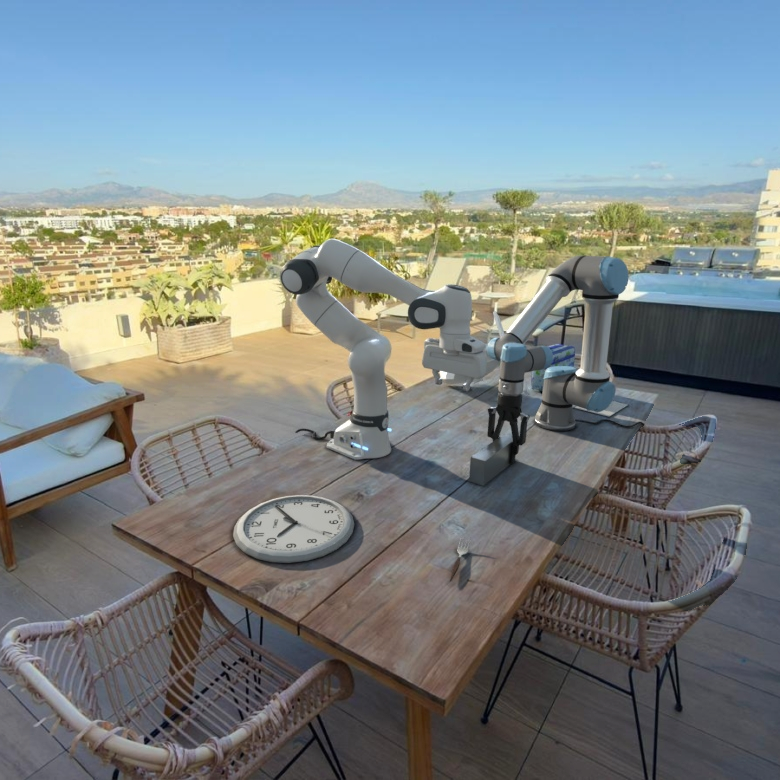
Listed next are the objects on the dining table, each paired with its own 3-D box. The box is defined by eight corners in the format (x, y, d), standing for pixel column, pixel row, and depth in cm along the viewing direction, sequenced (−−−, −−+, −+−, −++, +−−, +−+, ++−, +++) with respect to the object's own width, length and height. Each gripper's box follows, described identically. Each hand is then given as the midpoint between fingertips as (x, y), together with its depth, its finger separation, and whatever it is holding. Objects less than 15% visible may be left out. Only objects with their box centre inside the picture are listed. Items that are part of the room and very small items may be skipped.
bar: (501, 456, 175) (503, 434, 173) (515, 460, 173) (517, 437, 170) (468, 481, 158) (470, 456, 155) (483, 486, 155) (485, 461, 153)
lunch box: (547, 396, 238) (552, 351, 232) (526, 391, 246) (531, 347, 239) (574, 385, 256) (579, 343, 250) (554, 380, 263) (559, 340, 257)
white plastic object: (461, 429, 252) (437, 405, 227) (444, 352, 274) (420, 323, 250) (535, 404, 240) (518, 377, 215) (510, 326, 262) (492, 293, 237)
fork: (443, 582, 112) (444, 574, 112) (460, 542, 127) (460, 535, 126) (455, 584, 112) (456, 576, 111) (471, 544, 126) (471, 537, 125)
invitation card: (608, 416, 214) (573, 407, 224) (608, 416, 214) (573, 408, 224) (628, 404, 229) (594, 396, 238) (628, 405, 229) (594, 397, 238)
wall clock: (355, 554, 119) (220, 559, 116) (355, 560, 119) (221, 565, 117) (353, 490, 147) (244, 493, 145) (353, 495, 148) (245, 498, 145)
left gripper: (418, 338, 156) (417, 383, 160) (480, 348, 144) (477, 396, 148) (430, 335, 160) (428, 378, 165) (490, 344, 149) (487, 391, 153)
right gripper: (479, 390, 166) (474, 457, 173) (532, 401, 156) (525, 472, 163) (489, 384, 172) (484, 449, 179) (542, 395, 162) (534, 464, 169)
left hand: (452, 387), depth 156 cm, fingers open, 8 cm apart
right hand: (504, 460), depth 171 cm, fingers closed on bar, 5 cm apart
